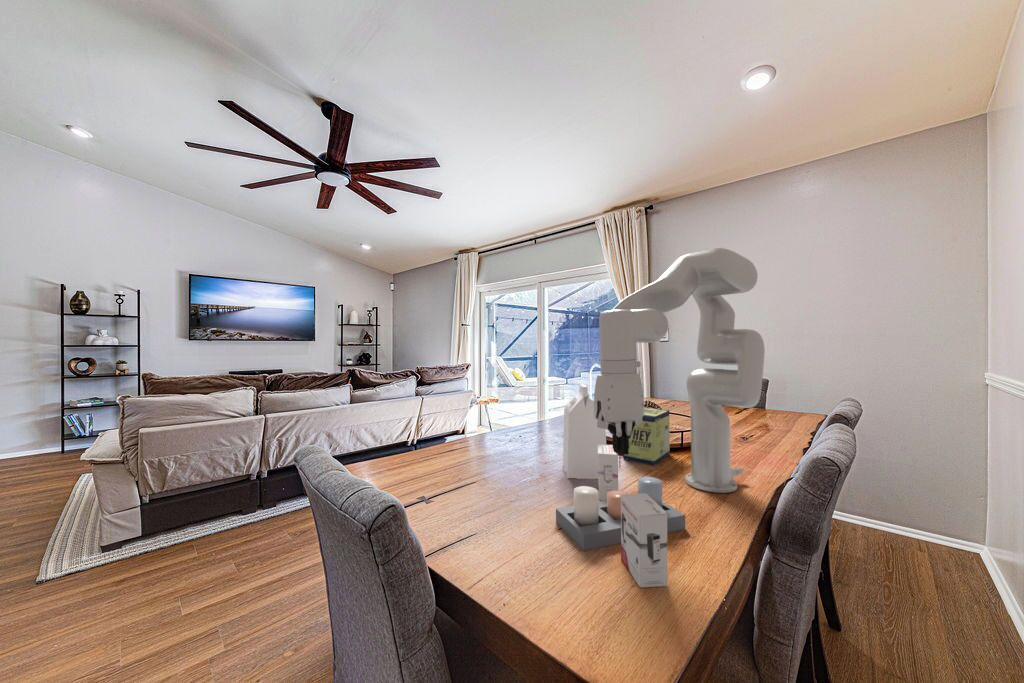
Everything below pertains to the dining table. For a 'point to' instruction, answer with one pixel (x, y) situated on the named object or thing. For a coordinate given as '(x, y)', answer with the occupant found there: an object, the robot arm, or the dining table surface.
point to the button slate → (651, 488)
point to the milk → (581, 437)
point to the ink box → (644, 539)
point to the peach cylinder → (614, 503)
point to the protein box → (650, 438)
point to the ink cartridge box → (607, 470)
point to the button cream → (586, 505)
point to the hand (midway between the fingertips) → (620, 453)
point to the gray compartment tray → (606, 526)
